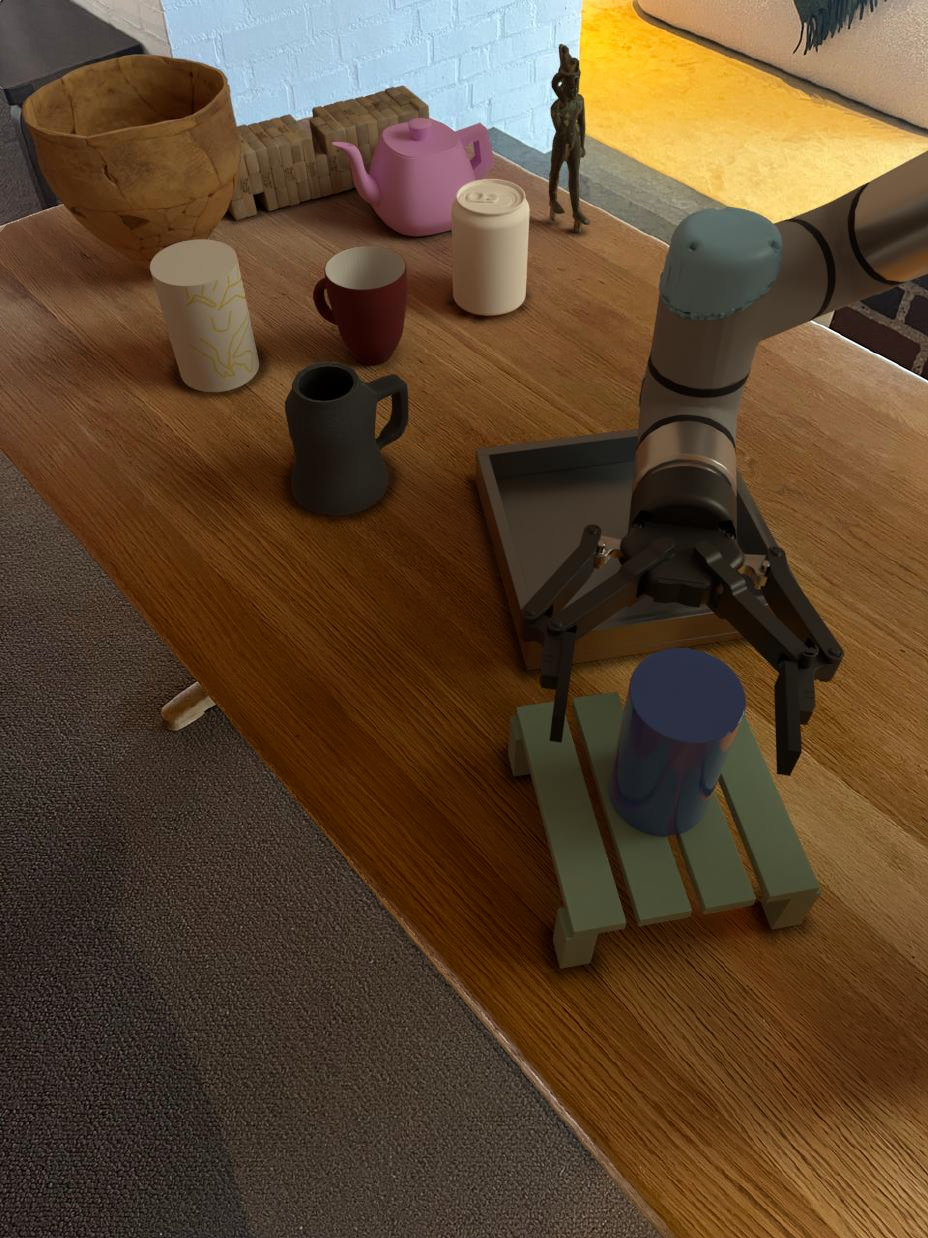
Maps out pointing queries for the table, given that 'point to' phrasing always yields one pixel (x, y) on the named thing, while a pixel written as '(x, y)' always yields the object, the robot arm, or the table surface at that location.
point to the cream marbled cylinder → (206, 314)
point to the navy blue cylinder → (674, 739)
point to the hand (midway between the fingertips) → (671, 747)
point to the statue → (567, 135)
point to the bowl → (139, 149)
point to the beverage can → (490, 246)
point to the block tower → (315, 149)
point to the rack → (649, 855)
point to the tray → (554, 524)
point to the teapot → (419, 173)
